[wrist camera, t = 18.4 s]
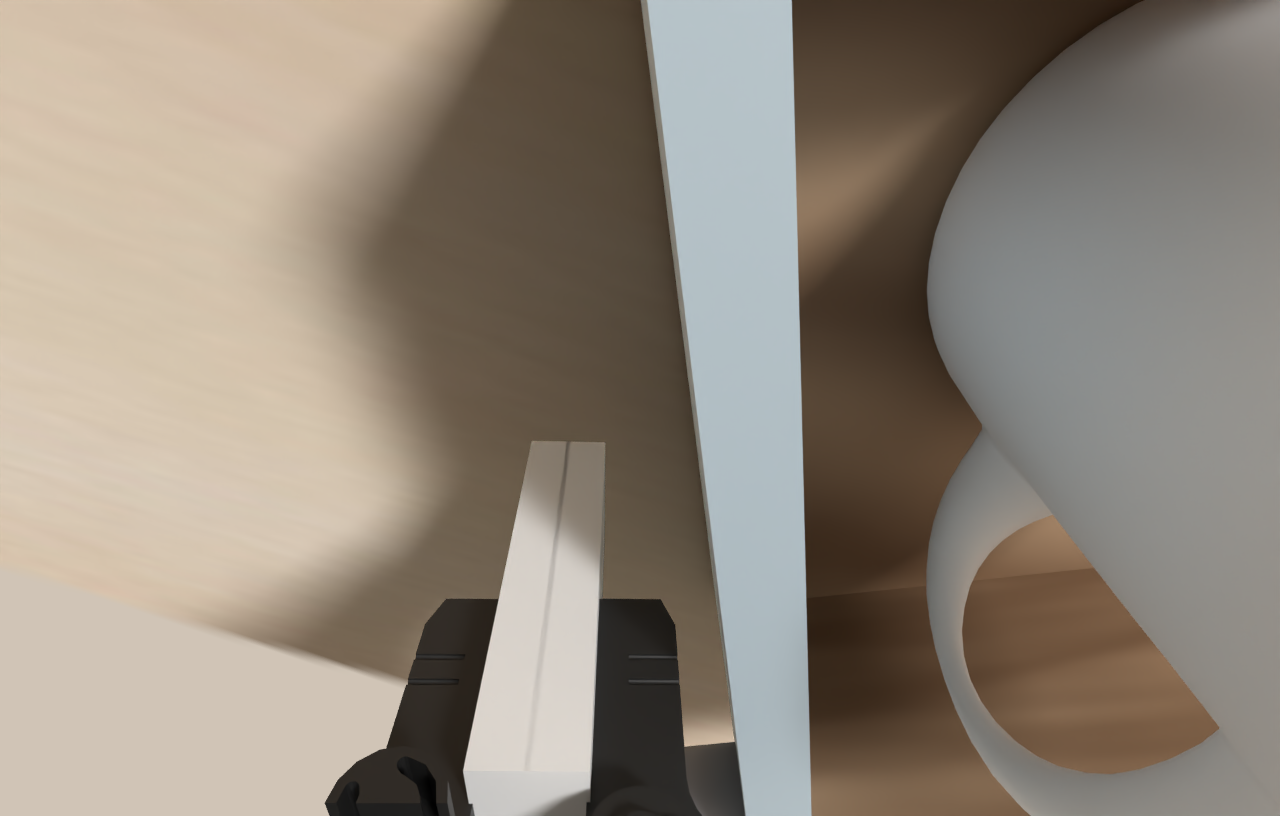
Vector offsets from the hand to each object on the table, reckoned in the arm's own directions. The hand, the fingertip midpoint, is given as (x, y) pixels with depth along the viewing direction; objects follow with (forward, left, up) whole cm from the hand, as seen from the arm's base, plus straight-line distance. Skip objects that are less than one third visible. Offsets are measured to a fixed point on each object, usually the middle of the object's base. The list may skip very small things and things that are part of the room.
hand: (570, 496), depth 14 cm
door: (-1, +3, -2) cm, 4 cm away
